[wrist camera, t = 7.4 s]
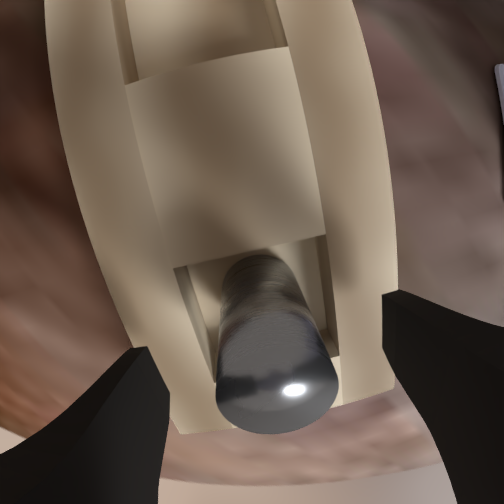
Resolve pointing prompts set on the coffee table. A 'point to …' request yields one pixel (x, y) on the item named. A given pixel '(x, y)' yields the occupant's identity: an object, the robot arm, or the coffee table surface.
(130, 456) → the robot arm
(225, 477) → the coffee table surface
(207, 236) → the tool board
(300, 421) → the grey cylinder
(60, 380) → the coffee table surface
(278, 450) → the coffee table surface
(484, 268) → the coffee table surface
